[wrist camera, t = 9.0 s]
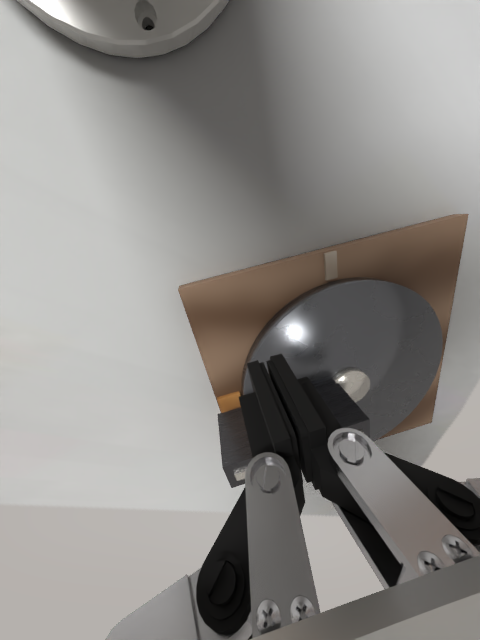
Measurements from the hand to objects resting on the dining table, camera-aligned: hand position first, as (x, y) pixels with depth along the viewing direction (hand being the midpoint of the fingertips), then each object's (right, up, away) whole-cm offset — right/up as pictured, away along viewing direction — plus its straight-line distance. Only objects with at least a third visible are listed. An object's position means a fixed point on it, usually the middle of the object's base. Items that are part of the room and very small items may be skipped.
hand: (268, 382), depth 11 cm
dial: (+6, -2, +8) cm, 10 cm away
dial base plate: (+6, -1, +9) cm, 11 cm away
